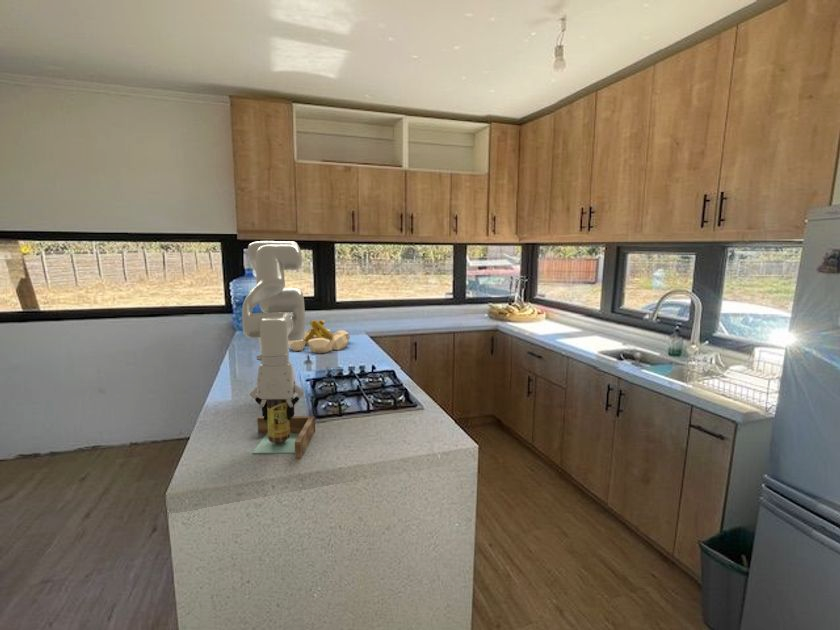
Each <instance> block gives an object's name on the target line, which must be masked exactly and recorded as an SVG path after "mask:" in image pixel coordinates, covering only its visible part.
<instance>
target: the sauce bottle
mask: <svg viewBox="0 0 840 630" xmlns="http://www.w3.org/2000/svg"><path fill="white" fill-rule="evenodd" d="M287 407H288V403H287V401H286V400H267V421H268V433H267V434H268V436H269V437H268V439H269V441H270V442H273V443H279V442H284V441H286V440H287V439H289V437H290V435H289V434H291V433H290V420H288V415H287Z"/></svg>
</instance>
